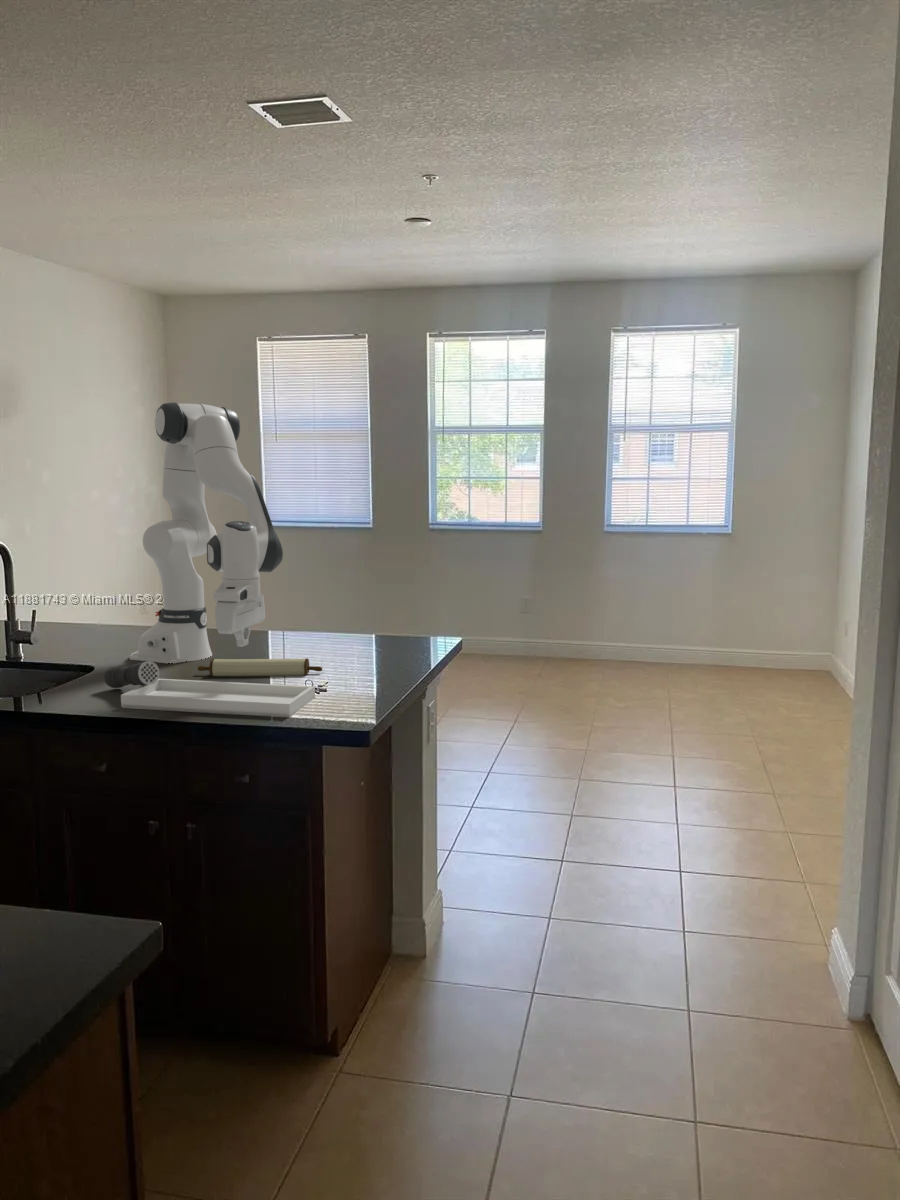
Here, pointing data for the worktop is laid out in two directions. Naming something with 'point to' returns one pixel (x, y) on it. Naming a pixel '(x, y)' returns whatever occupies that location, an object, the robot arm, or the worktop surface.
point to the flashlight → (132, 675)
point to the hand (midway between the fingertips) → (242, 645)
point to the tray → (219, 697)
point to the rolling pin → (259, 667)
